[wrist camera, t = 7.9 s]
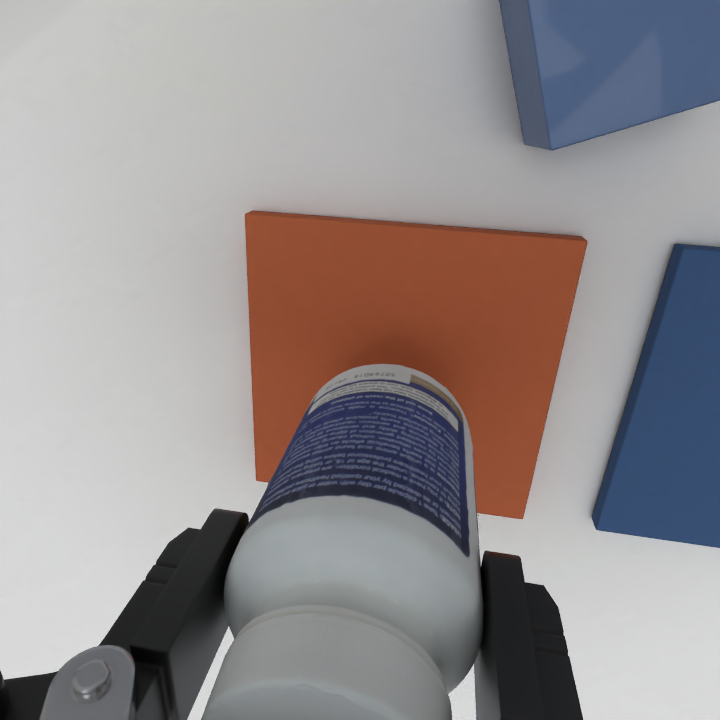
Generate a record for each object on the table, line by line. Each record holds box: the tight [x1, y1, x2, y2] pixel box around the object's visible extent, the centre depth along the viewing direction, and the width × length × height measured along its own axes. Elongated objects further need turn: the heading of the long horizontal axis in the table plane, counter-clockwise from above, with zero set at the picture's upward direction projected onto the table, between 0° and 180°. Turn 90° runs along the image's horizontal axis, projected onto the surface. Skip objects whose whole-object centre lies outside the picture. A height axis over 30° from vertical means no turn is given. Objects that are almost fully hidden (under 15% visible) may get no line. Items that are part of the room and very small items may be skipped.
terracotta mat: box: [245, 211, 587, 519], centre depth 21 cm, size 12×12×1 cm
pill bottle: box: [201, 364, 484, 720], centre depth 12 cm, size 5×5×10 cm
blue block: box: [499, 0, 720, 150], centre depth 13 cm, size 5×5×5 cm
